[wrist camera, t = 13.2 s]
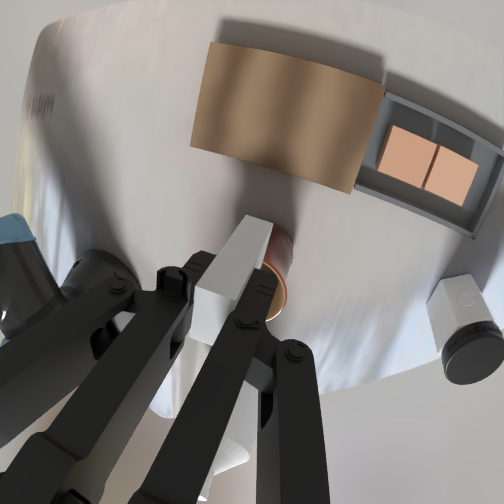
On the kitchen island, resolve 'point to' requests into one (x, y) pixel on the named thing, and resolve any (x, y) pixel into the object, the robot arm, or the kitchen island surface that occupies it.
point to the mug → (278, 266)
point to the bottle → (236, 436)
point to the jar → (464, 330)
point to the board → (286, 114)
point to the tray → (419, 199)
